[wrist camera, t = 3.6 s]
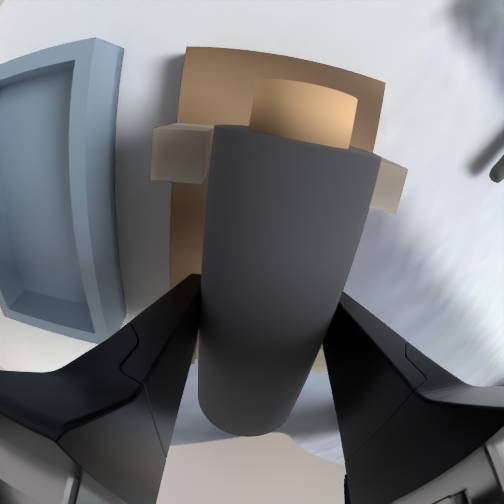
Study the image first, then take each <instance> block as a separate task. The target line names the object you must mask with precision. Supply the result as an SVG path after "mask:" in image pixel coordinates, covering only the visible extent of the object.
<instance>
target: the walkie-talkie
mask: <svg viewBox="0 0 504 504" xmlns="http://www.w3.org/2000/svg"><path fill="white" fill-rule="evenodd" d="M489 177H490V178H491V180H492V181H494V182H496V183H498V182H501V181H502V179H503V178H504V155H503V156H502V157H501V159H500V160H499V161H498V162H497V163H496V164H495V165H494V166H493V168H492V169H491V171H490V175H489Z"/></svg>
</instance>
